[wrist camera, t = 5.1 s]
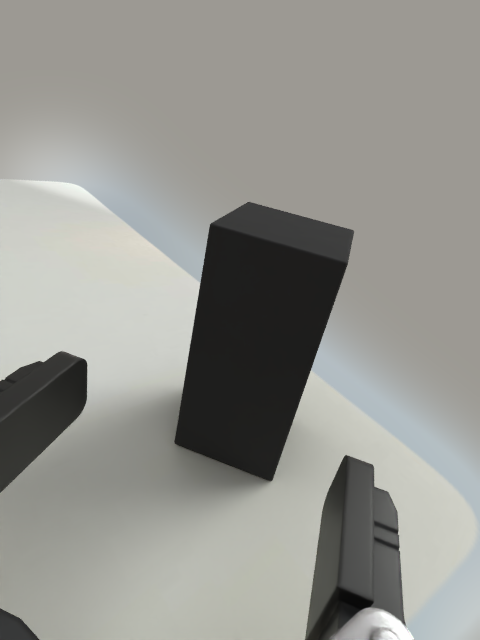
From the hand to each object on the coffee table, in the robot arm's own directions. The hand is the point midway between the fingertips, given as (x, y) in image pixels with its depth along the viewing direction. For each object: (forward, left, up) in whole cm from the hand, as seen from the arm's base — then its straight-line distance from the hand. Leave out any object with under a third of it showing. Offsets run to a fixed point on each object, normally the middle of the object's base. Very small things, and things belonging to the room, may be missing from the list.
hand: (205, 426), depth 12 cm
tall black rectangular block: (-1, -7, -7) cm, 10 cm away
